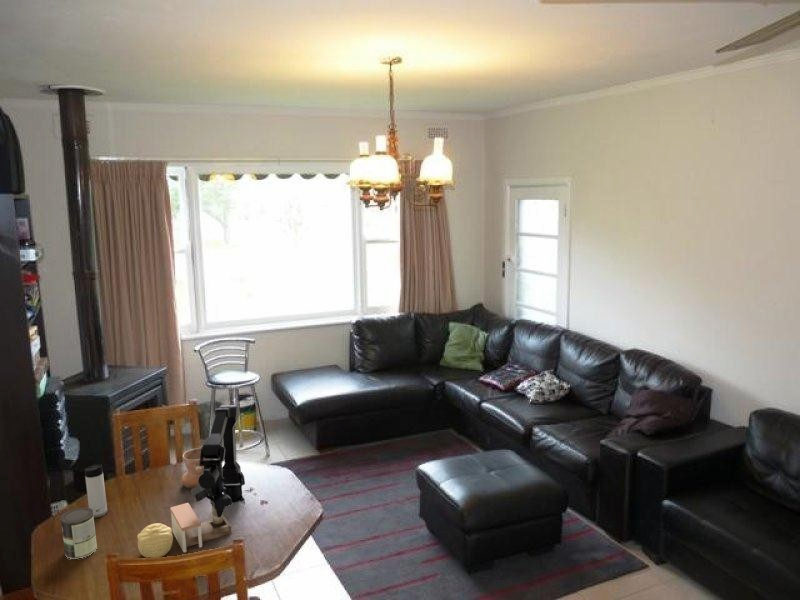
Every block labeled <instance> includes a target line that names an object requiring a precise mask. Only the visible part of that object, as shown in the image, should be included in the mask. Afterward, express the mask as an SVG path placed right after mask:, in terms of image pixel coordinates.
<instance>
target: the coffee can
mask: <svg viewBox="0 0 800 600" xmlns="http://www.w3.org/2000/svg"><path fill="white" fill-rule="evenodd" d="M60 524H61V533H62V539H63V546H64V556H66V557H67V558H66V557H65V558H66V559H68V558H70V559H69V560H71V559H78V558H82V559H84V558H83V557H85V558H87V557H86V556H88V557H90V556H92V555H93V554H94V553H95V552H96V551H97V550H98V546H97V545H98V544H97V536H96V535H97V534H96V526H95V517H93V510H92V509H90V508H89V507H77V508H73V509H70V510H68V511H66V512H65V513H63V514H62V515H61V516H60ZM96 549H97V550H96ZM93 552H94V553H93ZM92 553H93V554H92ZM91 554H92V555H91ZM89 555H90V556H89ZM78 560H79V559H78Z"/></svg>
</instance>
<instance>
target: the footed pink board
mask: <svg viewBox="0 0 800 600" xmlns="http://www.w3.org/2000/svg"><path fill="white" fill-rule="evenodd" d="M169 511H170V515H171V517H170V518H171V529H172V535H173V536H174V537H175V539H176V541H177V543H178V545H179V546H180V549H181V550H182V552H183V553H187V547H186V539H185V530H188V529H192V528H195V527H197V531H198V548H202V547H203V542H202V536H201V523H202V522H201V521H200V519H199V518H198V515H197V514H196V513H195V511H194V510H193V508H192V506H191V504H190V503H189V502H185V503H182V504H178V505H174V506H171V507H170V509H169Z"/></svg>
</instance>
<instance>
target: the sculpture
mask: <svg viewBox="0 0 800 600" xmlns="http://www.w3.org/2000/svg"><path fill="white" fill-rule="evenodd" d="M136 538H137V548H138V551H139V553H140V554H141V556H143V557H144V558H147V559H149V558H148V557H159V558H162V557H164V556H165V555H167V554H168V553H169V552H170V551H171V548H172V546H173V543H174V542H173V541H174V534H173V530H172V527H169V526H167V525H166V524H164V523H159V522H156V523H151V524H149V525H147V526H145V527H144V528H143V529H142V530H141V531H140V533H138V534H137V537H136Z"/></svg>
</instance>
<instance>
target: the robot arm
mask: <svg viewBox="0 0 800 600" xmlns="http://www.w3.org/2000/svg"><path fill="white" fill-rule="evenodd" d="M239 416H240V408H239V407H238V406H237V405H236V404H230V405H229V404H228V405H227V404H225V405H219V407H216V408H214V419H213V423H212V427H211V430H210V434H209V436H208V437H207V438H205V440H204V441H203V444H202V446H201V447H200V448H201V454H200V464H199V466H204V470H203V472H202V474H201V475H200V477H199V480H198V482H199V485H198V486H197V487H195V488H193V489H191V490H190V493H191V494H192V497H193V498H194V500H195V501H196V502H201V501H203V500H204V499H205V498H207V499H208V500H209V501H210V504H211V507H212V506H213V507H214V508H215V509H216V513H217V517H218V518H219V517H221V515H222V513H224V510H225V508H226V507H229V506H232V505H233V503H235V502H238V501H242V500H244V499H245V498H244V497H243V486H244V485H246V479H245V474H243V472H242V471H241V469H242V468H241V465H240V464H239V462H238V461H237V455H236V454H237V453H236V452H237V451H236V433H235V431H236V429H235V426H236V424H237V422H238V421H239ZM204 458H205V459H209V460H203V459H204ZM223 462H224V464H223ZM211 501H212V502H211Z"/></svg>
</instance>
